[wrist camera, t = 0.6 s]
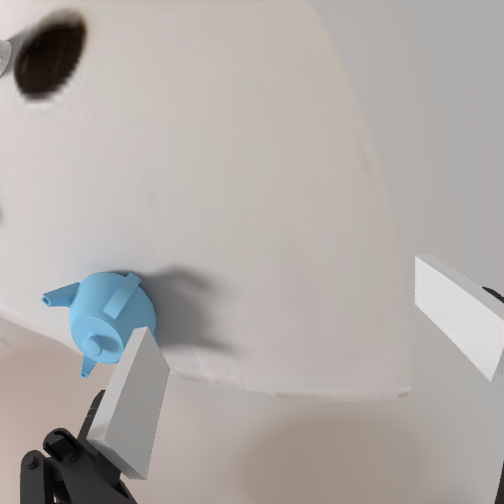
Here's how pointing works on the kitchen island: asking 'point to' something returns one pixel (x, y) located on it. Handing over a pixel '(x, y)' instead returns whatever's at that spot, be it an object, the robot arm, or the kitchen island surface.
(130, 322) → the teapot
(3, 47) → the mug
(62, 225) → the kitchen island surface
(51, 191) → the kitchen island surface
